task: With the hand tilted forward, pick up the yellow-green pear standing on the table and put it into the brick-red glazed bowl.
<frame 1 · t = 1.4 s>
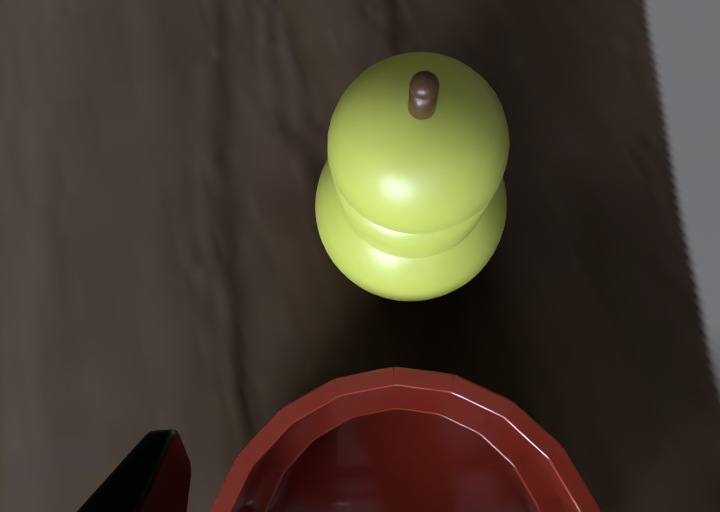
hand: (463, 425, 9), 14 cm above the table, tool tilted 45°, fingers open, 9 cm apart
pear: (406, 230, 24), on the table
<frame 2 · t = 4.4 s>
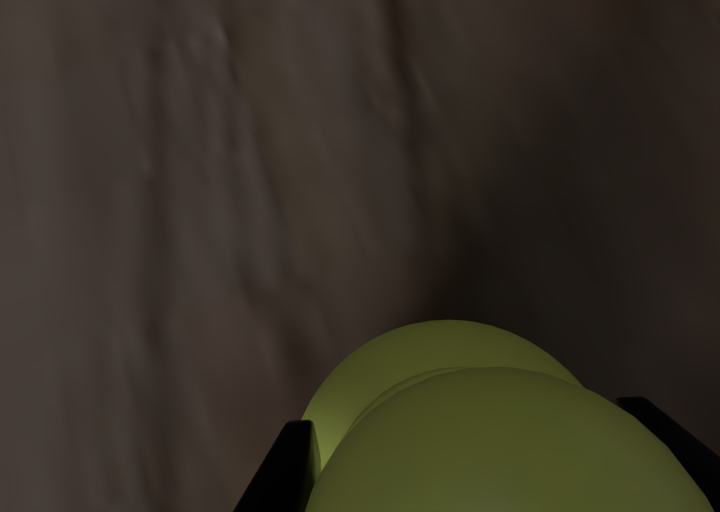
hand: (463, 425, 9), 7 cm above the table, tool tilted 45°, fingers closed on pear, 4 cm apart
pear: (436, 456, 15), on the table, touching gripper
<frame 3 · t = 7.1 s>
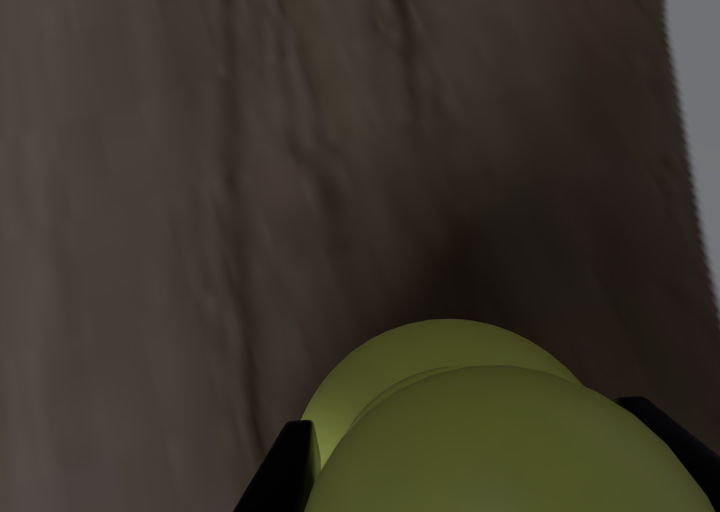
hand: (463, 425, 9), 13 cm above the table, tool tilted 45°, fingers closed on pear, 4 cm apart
pear: (436, 455, 15), point 7 cm above the table, touching gripper
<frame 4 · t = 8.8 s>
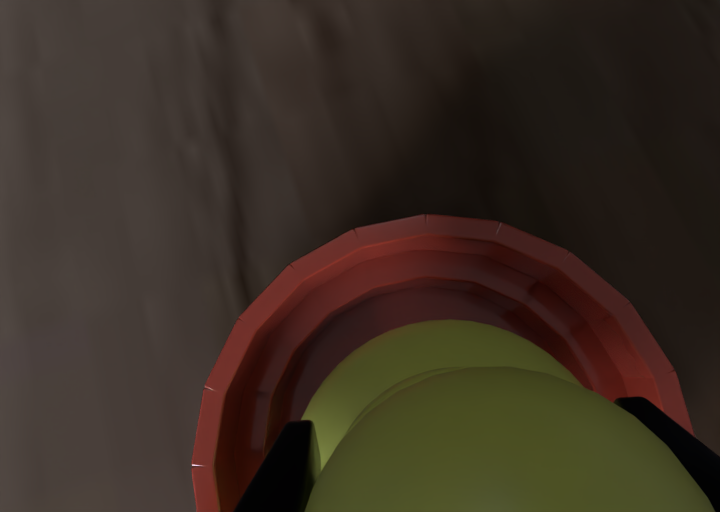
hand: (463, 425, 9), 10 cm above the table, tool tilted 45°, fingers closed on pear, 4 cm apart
bowl: (427, 435, 18), on the table
pear: (436, 456, 15), point 3 cm above the table, touching gripper
when the fingers open (7 cm above the table, at t = 10.0 s): pear stays where it is, resting on bowl.
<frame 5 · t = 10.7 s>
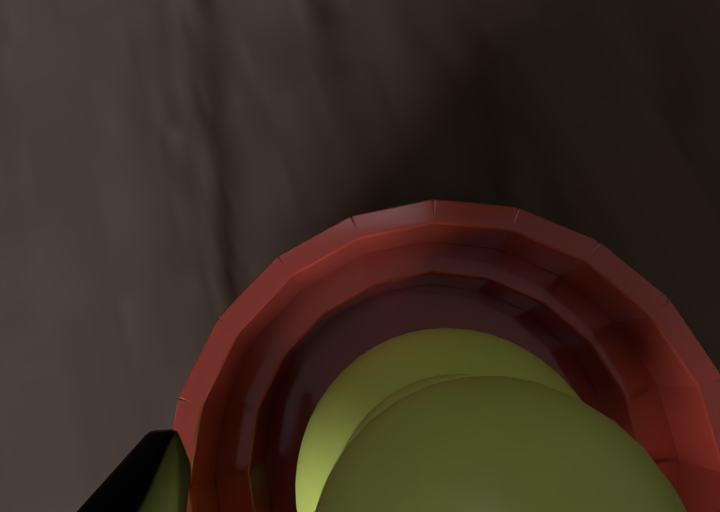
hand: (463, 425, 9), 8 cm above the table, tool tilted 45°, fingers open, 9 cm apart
bowl: (434, 451, 16), on the table
pear: (436, 457, 16), point 1 cm above the table, touching bowl
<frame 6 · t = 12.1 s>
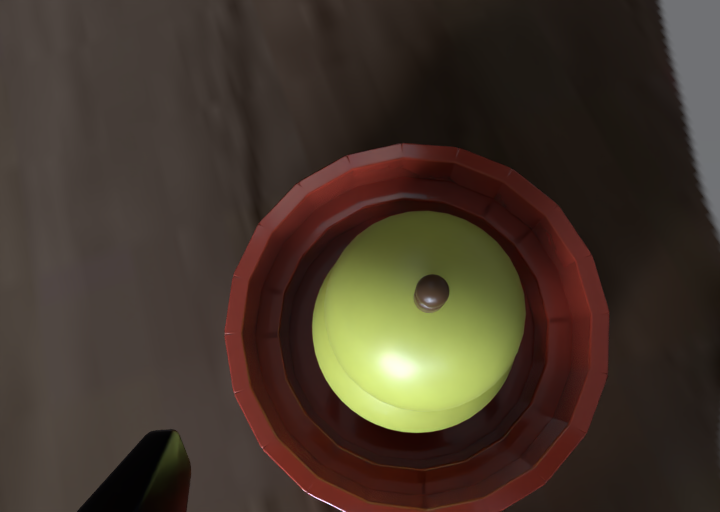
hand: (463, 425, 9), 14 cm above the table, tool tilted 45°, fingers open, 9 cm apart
bowl: (409, 332, 23), on the table
pear: (410, 333, 22), point 1 cm above the table, touching bowl
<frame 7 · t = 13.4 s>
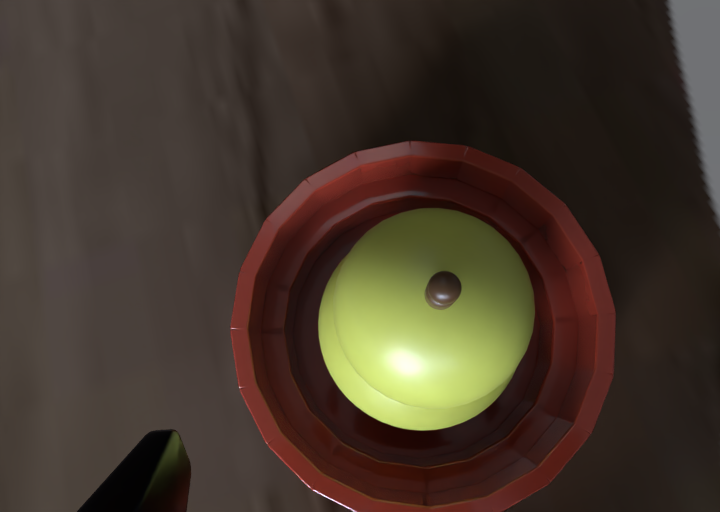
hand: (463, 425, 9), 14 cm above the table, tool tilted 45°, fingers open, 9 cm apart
bowl: (414, 330, 23), on the table
pear: (415, 331, 22), point 1 cm above the table, touching bowl
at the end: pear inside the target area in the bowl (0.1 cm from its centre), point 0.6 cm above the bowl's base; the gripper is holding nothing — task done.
